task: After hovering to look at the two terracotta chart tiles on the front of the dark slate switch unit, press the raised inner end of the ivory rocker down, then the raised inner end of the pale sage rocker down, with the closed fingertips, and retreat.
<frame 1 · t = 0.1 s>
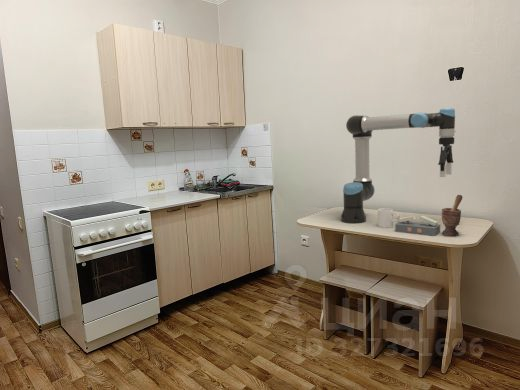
hand: (445, 175, 203), 28 cm above the table, fingers open, 13 cm apart
rocker B: (428, 220, 191), point 6 cm above the table, hinge at 18.0°
switch unit: (417, 231, 195), on the table
mug: (388, 226, 209), on the table
mortar and pestle: (451, 234, 188), on the table
rocker A: (407, 218, 198), point 6 cm above the table, hinge at -18.0°
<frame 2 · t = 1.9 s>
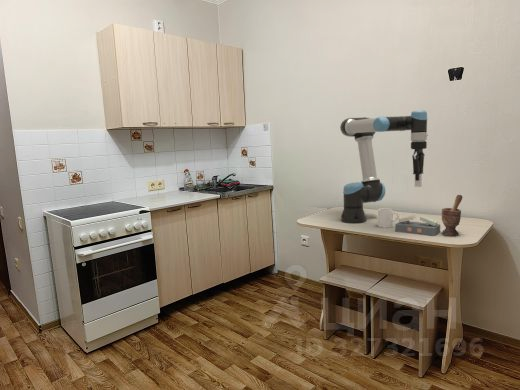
hand: (418, 186, 192), 24 cm above the table, fingers closed
nothing on the table moved.
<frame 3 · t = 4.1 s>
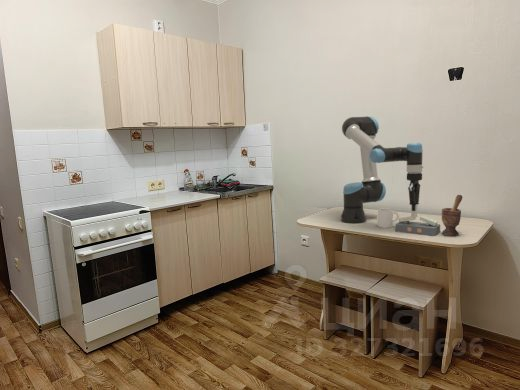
hand: (414, 216, 195), 8 cm above the table, fingers closed
rocker A: (407, 218, 198), point 6 cm above the table, hinge at -11.7°, touching gripper
everything else where it was.
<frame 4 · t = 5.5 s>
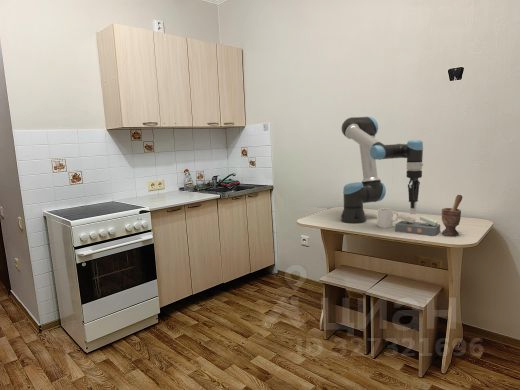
hand: (413, 213, 196), 9 cm above the table, fingers closed
rocker A: (407, 218, 198), point 6 cm above the table, hinge at 11.9°
everything else where it was.
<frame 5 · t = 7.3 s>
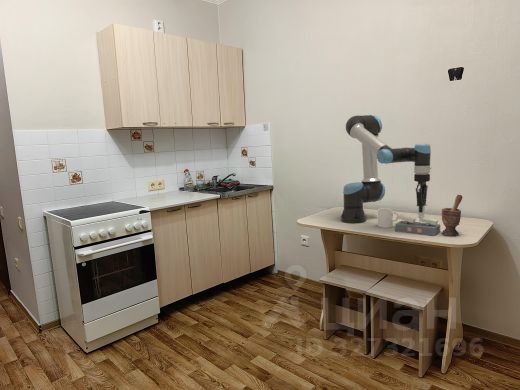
hand: (421, 218, 193), 8 cm above the table, fingers closed
rocker B: (428, 220, 191), point 6 cm above the table, hinge at 7.9°, touching gripper
everything else where it was.
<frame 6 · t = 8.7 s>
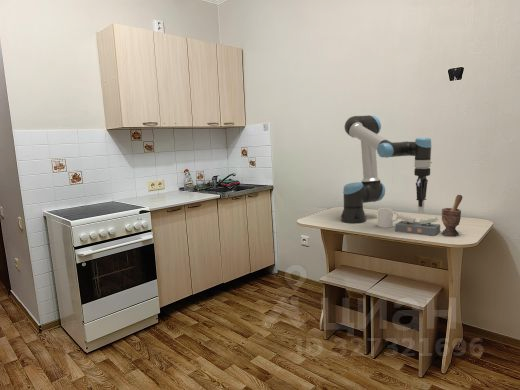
hand: (420, 212, 193), 11 cm above the table, fingers closed
rocker B: (428, 220, 191), point 6 cm above the table, hinge at -16.8°
everything else where it was.
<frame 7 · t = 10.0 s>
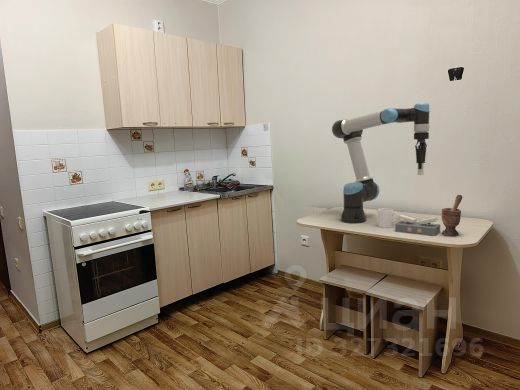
hand: (420, 174, 204), 29 cm above the table, fingers closed
nothing on the table moved.
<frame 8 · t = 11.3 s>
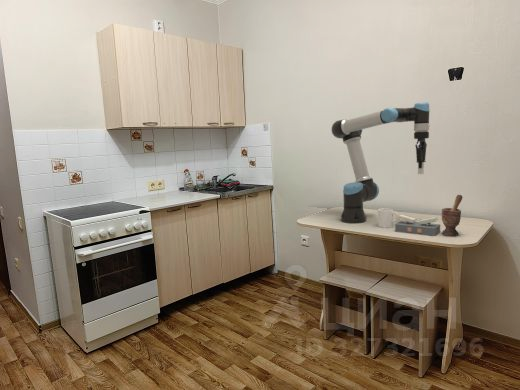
hand: (420, 174, 204), 29 cm above the table, fingers closed
nothing on the table moved.
at the end: rocker A at +12° (first picture: -18°); rocker B at -17° (first picture: +18°) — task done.
